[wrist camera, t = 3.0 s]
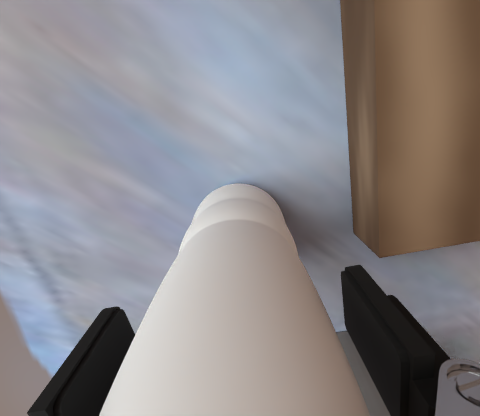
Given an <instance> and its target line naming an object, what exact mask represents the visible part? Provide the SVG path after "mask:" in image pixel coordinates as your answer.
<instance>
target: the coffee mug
mask: <svg viewBox="0 0 480 416" xmlns="http://www.w3.org/2000/svg"><path fill="white" fill-rule="evenodd" d="M336 334H337V336H338V338H339V341H340V343H341V345H342V347H343V350H344V352H345V354H346V357H347V359H348V362H349V364H350V366H351V369H352V371H353V373H354V376H355V378H356V381H357V383H358V386H359V388H360V391H361V393H362V396H363V398H364V401H365V403H366V406H367V408H368V411H369V414H370V416H391V415H390V414H389V412H388V410H387V408H386V406H385V404H384V402H383V400H382V398H381V396H380V394H379V392H378V390H377V388H376V386H375V384H374V382H373V380H372V378H371V376H370V374H369V373H368V371H367V369H366V367H365V365H364V363H363V361H362V359H361V357H360V355H359V353H358V351H357V349H356V347H355V345H354V343H353V341H352V339H351V337H350V335H349V333H348V331H342V332H337V333H336Z"/></svg>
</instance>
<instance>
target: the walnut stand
mask: <svg viewBox="0 0 480 416" xmlns="http://www.w3.org/2000/svg"><path fill="white" fill-rule="evenodd" d="M340 5H341V22H342V40H343V57H344V74H345V92H346V109H347V127H348V144H349V161H350V179H351V196H352V214H353V231H354V234H355V235H356V236H357V237H358V238H359V239H360V240H362V241H363V242H364V243H365V244H366V245H367V246H368V247H369V248H370V249H371V250H372V251H373V252H374V253H375V254H376V255H377V256H378V257H379V258H382V257H388V256H394V255H400V254H405V253H411V252H417V251H423V250H429V249H434V248H440V247H446V246H452V245H458V244H464V243H469V242H475V241H480V0H340Z"/></svg>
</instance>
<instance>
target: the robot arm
mask: <svg viewBox="0 0 480 416" xmlns="http://www.w3.org/2000/svg"><path fill="white" fill-rule="evenodd" d="M341 281H342V294H343V307H344V319H345V326H346V329H347V331H348V333H349V335H350V337H351V339H352V341H353V343H354V345H355V347H356V349H357V351H358V353H359V355H360V357H361V359H362V361H363V363H364V365H365V367H366V369H367V371H368V373H369V374H370V376H371V378H372V380H373V382H374V384H375V386H376V388H377V390H378V392H379V394H380V396H381V398H382V400H383V402H384V404H385V406H386V408H387V410H388V412H389V414H390V415H391V416H480V364H479V363H476V362H473V361H470V360H466V359H450V358H449V357H448V355H447V354H446V353H445V352H444V351H443V350H442V349H441V347H440V346H439V345H438V344H437V343H436V342H435V341H434V340H433V338H432V337H431V336H430V335H429V334H428V333H427V332H426V331H425V329H424V328H423V327H422V326H421V325H420V324H419V323H418V322H417V320H416V319H415V318H414V317H413V316H412V315H411V314H410V313H409V311H408V310H407V309H406V308H405V307H404V306H403V305H402V304H401V302H400V301H399V300H398V299H397V298H396V297H395V296H393V295H388V296H387V295H386V294H385V293H384V292H383V291H382V289H381V288H380V287H379V286H378V285H377V284H376V282H375V281H374V280H373V279H372V278H371V276H370V275H369V274H368V273H367V272H366V270H365V269H364V268H363V267H362V266H361V265H355V266H349V267H345V271H342V272H341ZM134 337H135V334H134V331H133V329H132V327H131V325H130V323H129V320H128V318H127V316H126V314H125V312H124V310H123V309H120V308H119V307H111V308H105V309H103V310H102V311H101V312H100V314H99V315H98V316H97V318H96V319H95V320H94V322H93V323H92V324H91V326H90V327H89V329H88V330H87V331H86V333H85V334H84V335H83V337H82V338H81V340H80V341H79V342H78V344H77V345H76V346H75V348H74V349H73V351H72V352H71V353H70V355H69V356H68V357H67V359H66V360H65V361H64V363H63V364H62V366H61V367H60V368H59V370H58V371H57V372H56V374H55V375H54V377H53V378H52V379H51V381H50V382H49V384H48V385H47V386H46V388H45V389H44V390H43V392H42V393H41V394H40V396H39V397H38V399H37V400H36V401H35V403H34V404H33V405H32V407H31V408H30V409H29V411H28V412H27V414H28V415H29V416H99V415H100V412H101V410H102V407H103V405H104V403H105V400H106V398H107V396H108V394H109V391H110V389H111V387H112V384H113V382H114V380H115V378H116V375H117V373H118V371H119V369H120V367H121V364H122V362H123V360H124V358H125V356H126V354H127V352H128V349H129V347H130V345H131V343H132V341H133V339H134Z"/></svg>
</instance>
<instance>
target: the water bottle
mask: <svg viewBox="0 0 480 416" xmlns="http://www.w3.org/2000/svg"><path fill="white" fill-rule="evenodd" d="M99 416H370V414H369V411H368V408H367V406H366V403H365V401H364V398H363V396H362V393H361V391H360V388H359V386H358V383H357V381H356V378H355V376H354V373H353V371H352V369H351V366H350V364H349V362H348V359H347V357H346V354H345V352H344V350H343V347H342V345H341V343H340V341H339V338H338V336H337V334H336V332H335V329H334V327H333V325H332V323H331V320H330V318H329V316H328V314H327V312H326V309H325V307H324V305H323V303H322V301H321V299H320V297H319V294H318V292H317V290H316V288H315V286H314V284H313V282H312V280H311V278H310V276H309V275H308V273H307V271H306V269H305V267H304V266H303V264H302V262H301V260H300V259H299V257H298V252H297V248H296V245H295V242H294V239H293V237H292V235H291V233H290V231H289V229H288V227H287V226H286V223H285V220H284V217H283V214H282V212H281V210H280V208H279V206H278V204H277V203H276V201H275V200H274V199H273V198H272V197H271V196H270V195H269V194H268V193H266V192H265V191H263V190H262V189H260V188H258V187H255V186H252V185H248V184H238V183H237V184H229V185H225V186H222V187H220V188H218V189H216V190H214V191H213V192H211V193H210V194H209V195H208V196H207V197H206V198H205V199H204V200H203V201H202V202H201V204H200V205H199V207H198V209H197V211H196V213H195V216H194V218H193V221H192V224H191V225H190V227H189V228H188V230H187V232H186V234H185V236H184V238H183V240H182V243H181V246H180V249H179V254H178V256H177V258H176V259H175V261H174V262H173V264H172V266H171V267H170V269H169V271H168V272H167V274H166V276H165V278H164V280H163V281H162V283H161V285H160V287H159V289H158V291H157V293H156V294H155V296H154V298H153V300H152V302H151V304H150V306H149V308H148V310H147V312H146V314H145V316H144V318H143V320H142V322H141V324H140V326H139V329H138V331H137V333H136V335H135V337H134V339H133V341H132V343H131V345H130V347H129V349H128V352H127V354H126V356H125V358H124V360H123V362H122V364H121V367H120V369H119V371H118V373H117V375H116V378H115V380H114V382H113V384H112V387H111V389H110V391H109V394H108V396H107V398H106V400H105V403H104V405H103V407H102V410H101V412H100V415H99Z"/></svg>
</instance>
